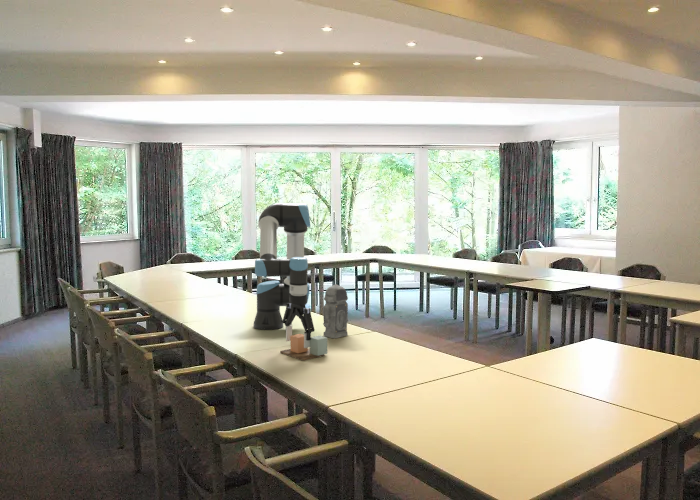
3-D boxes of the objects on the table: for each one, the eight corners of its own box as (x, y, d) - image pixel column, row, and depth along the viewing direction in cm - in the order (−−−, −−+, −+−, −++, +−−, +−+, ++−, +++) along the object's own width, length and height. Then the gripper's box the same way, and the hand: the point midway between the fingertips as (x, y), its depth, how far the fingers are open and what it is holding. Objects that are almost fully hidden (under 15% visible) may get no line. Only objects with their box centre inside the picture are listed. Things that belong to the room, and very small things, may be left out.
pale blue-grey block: (309, 353, 233) (309, 337, 232) (319, 351, 236) (319, 335, 236) (317, 355, 229) (317, 339, 229) (327, 353, 233) (327, 337, 232)
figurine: (352, 334, 270) (352, 283, 268) (331, 339, 260) (331, 286, 258) (338, 331, 277) (338, 281, 275) (317, 336, 266) (317, 284, 264)
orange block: (290, 350, 236) (290, 335, 235) (300, 348, 239) (300, 333, 239) (298, 353, 232) (298, 337, 232) (307, 351, 236) (307, 335, 235)
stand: (280, 352, 237) (280, 350, 237) (300, 348, 244) (300, 346, 244) (303, 360, 225) (303, 358, 225) (324, 355, 232) (324, 353, 232)
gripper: (274, 290, 240) (274, 339, 243) (309, 300, 223) (308, 352, 226) (288, 288, 245) (288, 336, 248) (323, 297, 228) (322, 348, 231)
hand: (297, 343), depth 237 cm, fingers open, 12 cm apart
